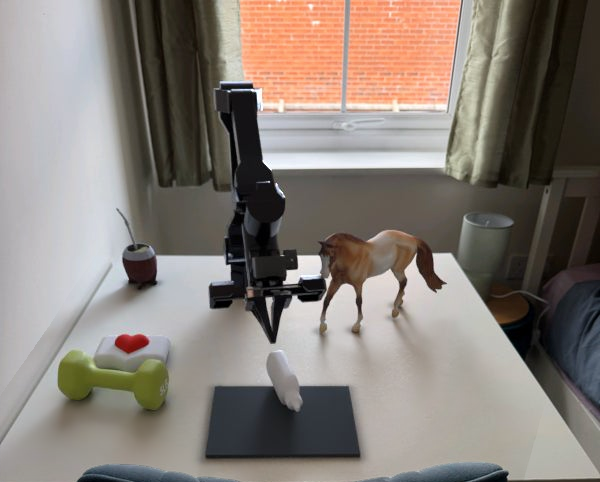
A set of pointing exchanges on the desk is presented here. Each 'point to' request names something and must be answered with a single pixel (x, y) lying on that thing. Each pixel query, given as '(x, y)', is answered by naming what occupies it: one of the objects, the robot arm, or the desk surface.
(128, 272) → the mate gourd
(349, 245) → the horse figurine
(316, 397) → the mat
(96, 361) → the icon
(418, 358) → the desk surface
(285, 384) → the eye dropper bottle
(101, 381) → the dumbbell
